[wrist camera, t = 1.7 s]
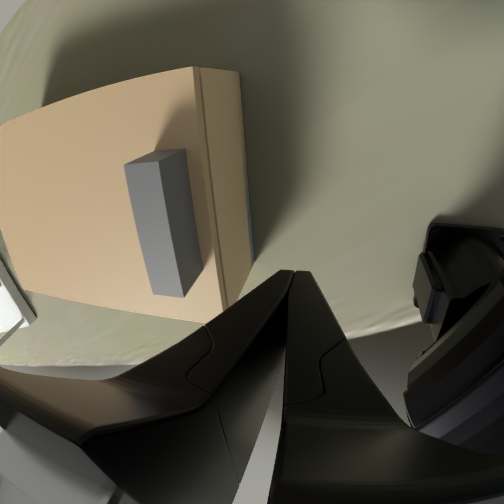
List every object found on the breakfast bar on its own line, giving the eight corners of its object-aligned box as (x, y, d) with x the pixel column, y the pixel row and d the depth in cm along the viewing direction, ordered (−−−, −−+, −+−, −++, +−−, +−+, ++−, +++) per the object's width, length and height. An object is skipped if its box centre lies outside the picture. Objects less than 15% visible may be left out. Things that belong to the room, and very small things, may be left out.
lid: (198, 66, 12) (164, 64, 9) (228, 318, 18) (210, 356, 15) (-17, 134, 16) (-47, 146, 14) (27, 285, 22) (5, 305, 20)
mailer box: (239, 71, 17) (200, 67, 12) (254, 262, 23) (229, 315, 18) (39, 116, 22) (-14, 133, 17) (71, 250, 28) (30, 283, 23)
